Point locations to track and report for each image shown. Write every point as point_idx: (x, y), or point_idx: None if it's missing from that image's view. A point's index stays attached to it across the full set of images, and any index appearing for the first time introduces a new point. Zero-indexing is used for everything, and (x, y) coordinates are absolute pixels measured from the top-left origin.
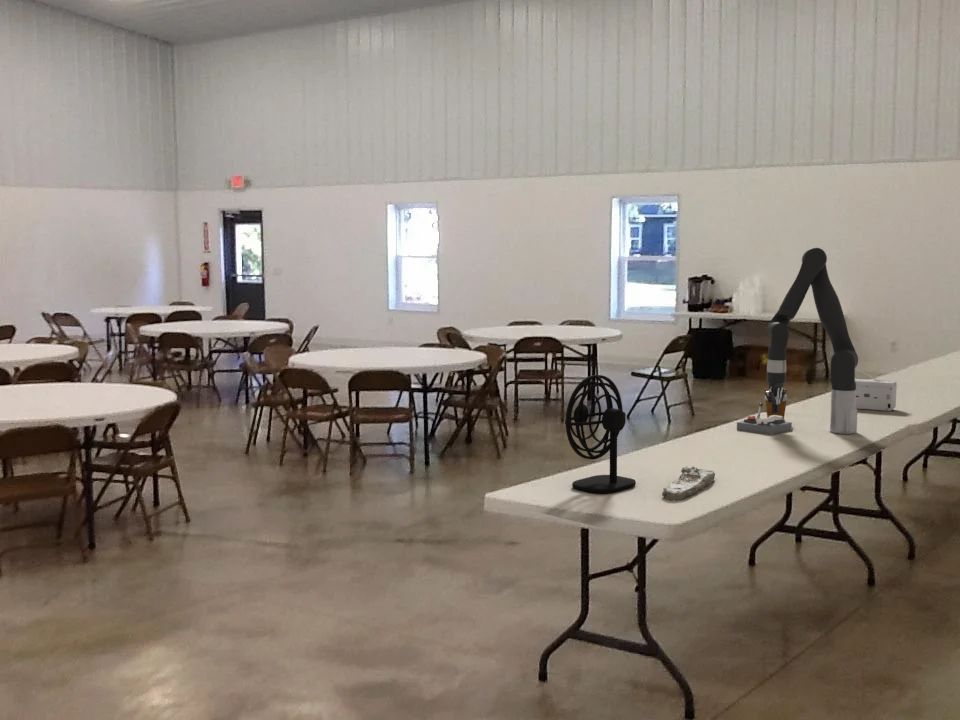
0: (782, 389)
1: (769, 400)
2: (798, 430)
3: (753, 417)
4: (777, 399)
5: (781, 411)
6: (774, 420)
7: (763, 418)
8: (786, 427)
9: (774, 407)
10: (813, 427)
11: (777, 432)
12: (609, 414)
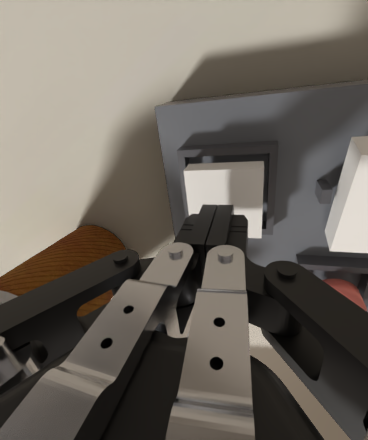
0: (27, 408)
1: (309, 335)
2: (153, 55)
3: (353, 292)
4: (211, 284)
5: (64, 257)
6: (353, 138)
7: (350, 232)
8: (227, 96)
9: (246, 243)
10: (18, 63)
11: (354, 81)
12: None
